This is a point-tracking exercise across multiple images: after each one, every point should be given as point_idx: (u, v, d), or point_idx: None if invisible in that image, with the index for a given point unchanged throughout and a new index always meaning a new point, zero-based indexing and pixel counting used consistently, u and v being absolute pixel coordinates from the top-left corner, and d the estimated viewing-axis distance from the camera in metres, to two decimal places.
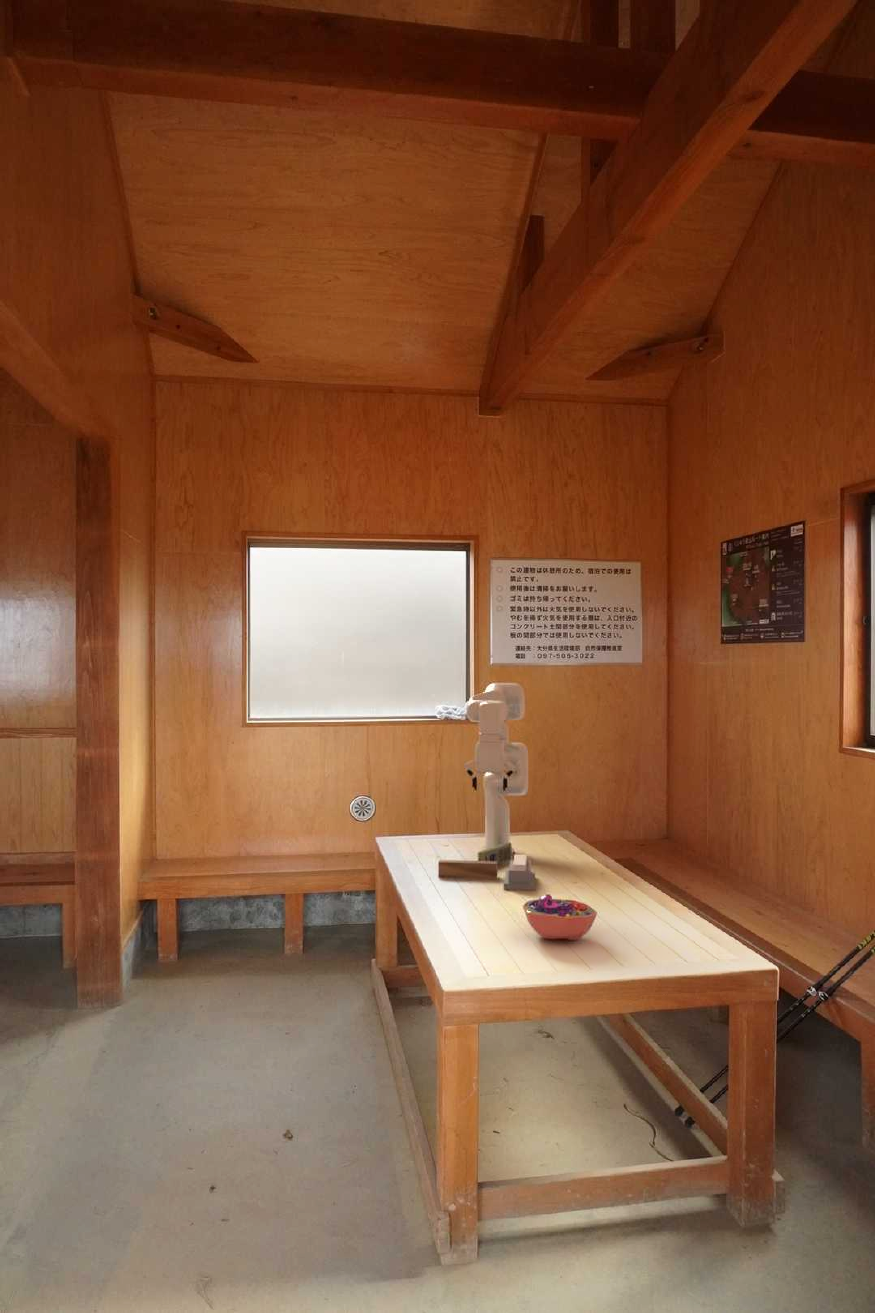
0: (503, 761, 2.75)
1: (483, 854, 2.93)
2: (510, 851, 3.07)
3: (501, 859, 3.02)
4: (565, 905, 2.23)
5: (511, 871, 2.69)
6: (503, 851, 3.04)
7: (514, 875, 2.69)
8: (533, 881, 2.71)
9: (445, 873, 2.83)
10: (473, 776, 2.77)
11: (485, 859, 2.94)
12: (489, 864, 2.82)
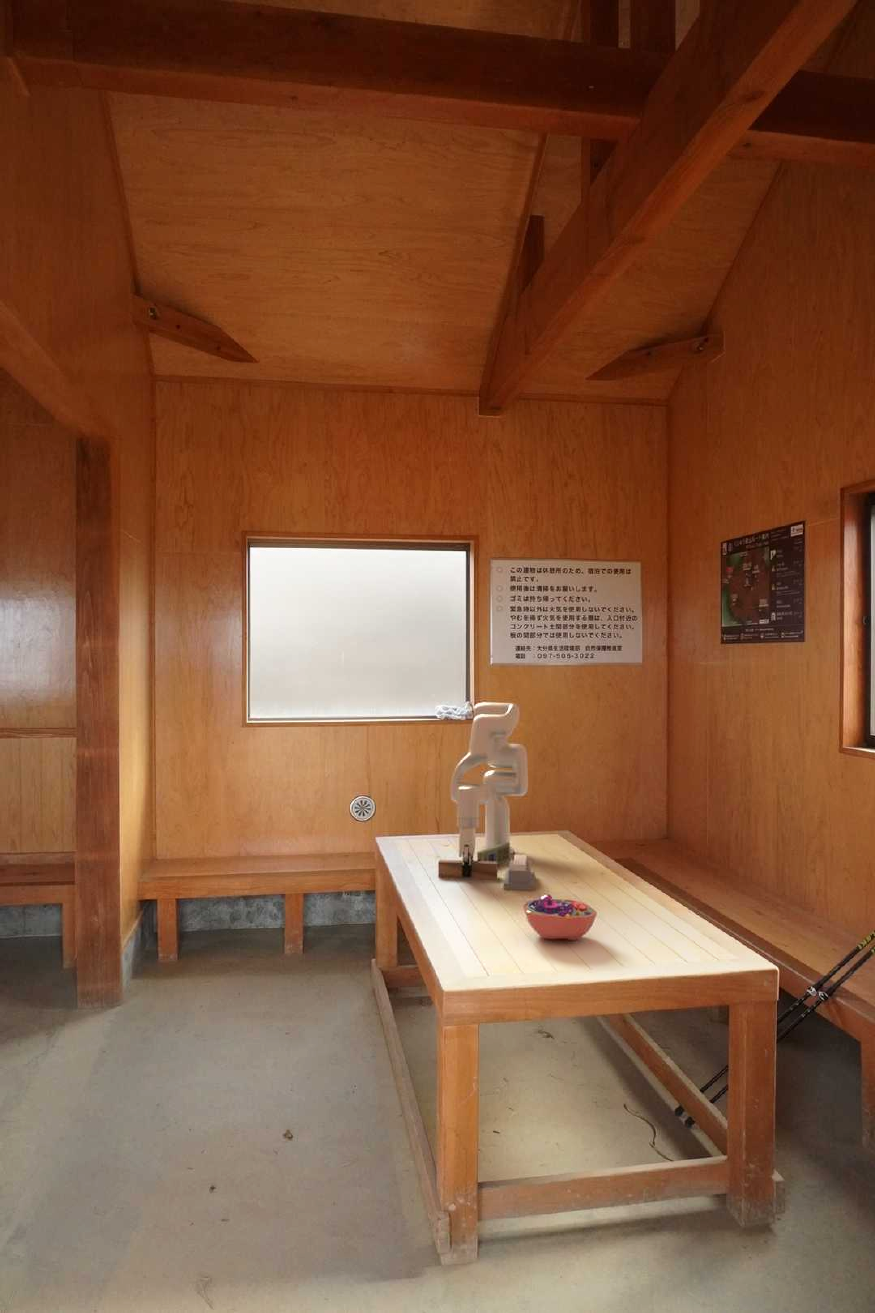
0: None
1: (482, 854, 2.94)
2: (508, 851, 3.08)
3: (500, 859, 3.03)
4: (565, 905, 2.23)
5: (511, 871, 2.69)
6: (502, 851, 3.04)
7: (514, 875, 2.69)
8: (533, 881, 2.71)
9: (445, 873, 2.83)
10: (470, 863, 2.79)
11: (484, 859, 2.94)
12: (489, 864, 2.82)
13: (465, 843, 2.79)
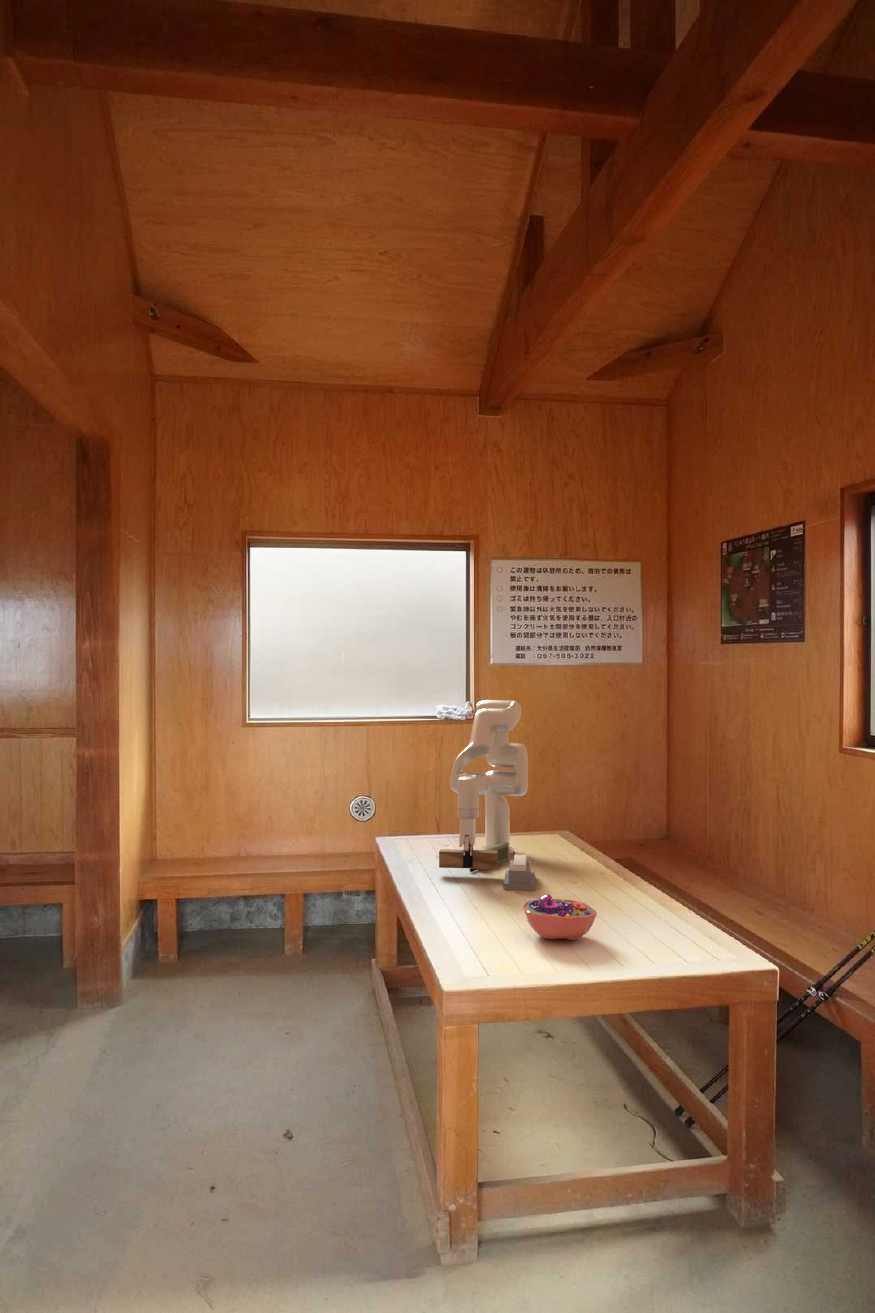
0: None
1: None
2: (507, 851, 3.08)
3: (499, 859, 3.03)
4: (565, 905, 2.23)
5: (511, 871, 2.69)
6: (501, 851, 3.04)
7: (514, 875, 2.69)
8: (533, 881, 2.71)
9: (446, 862, 2.84)
10: None
11: None
12: (489, 853, 2.82)
13: (465, 833, 2.80)
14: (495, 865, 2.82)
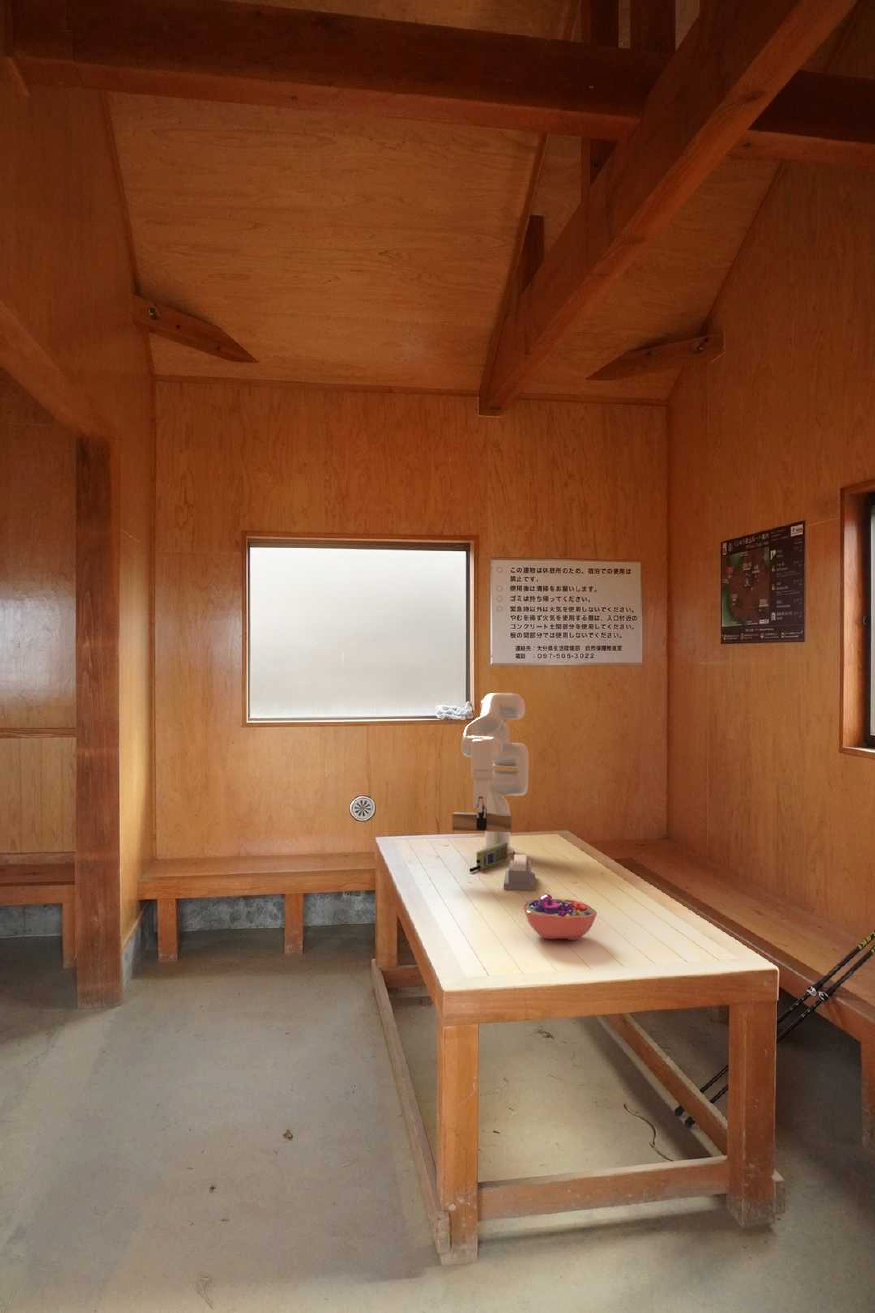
0: None
1: (482, 854, 2.94)
2: (506, 850, 3.08)
3: (498, 859, 3.03)
4: (565, 905, 2.23)
5: (511, 871, 2.69)
6: (500, 851, 3.04)
7: (514, 875, 2.69)
8: (533, 881, 2.71)
9: (459, 825, 2.81)
10: (484, 816, 2.79)
11: (483, 858, 2.94)
12: (503, 816, 2.79)
13: (479, 795, 2.77)
14: (509, 828, 2.79)
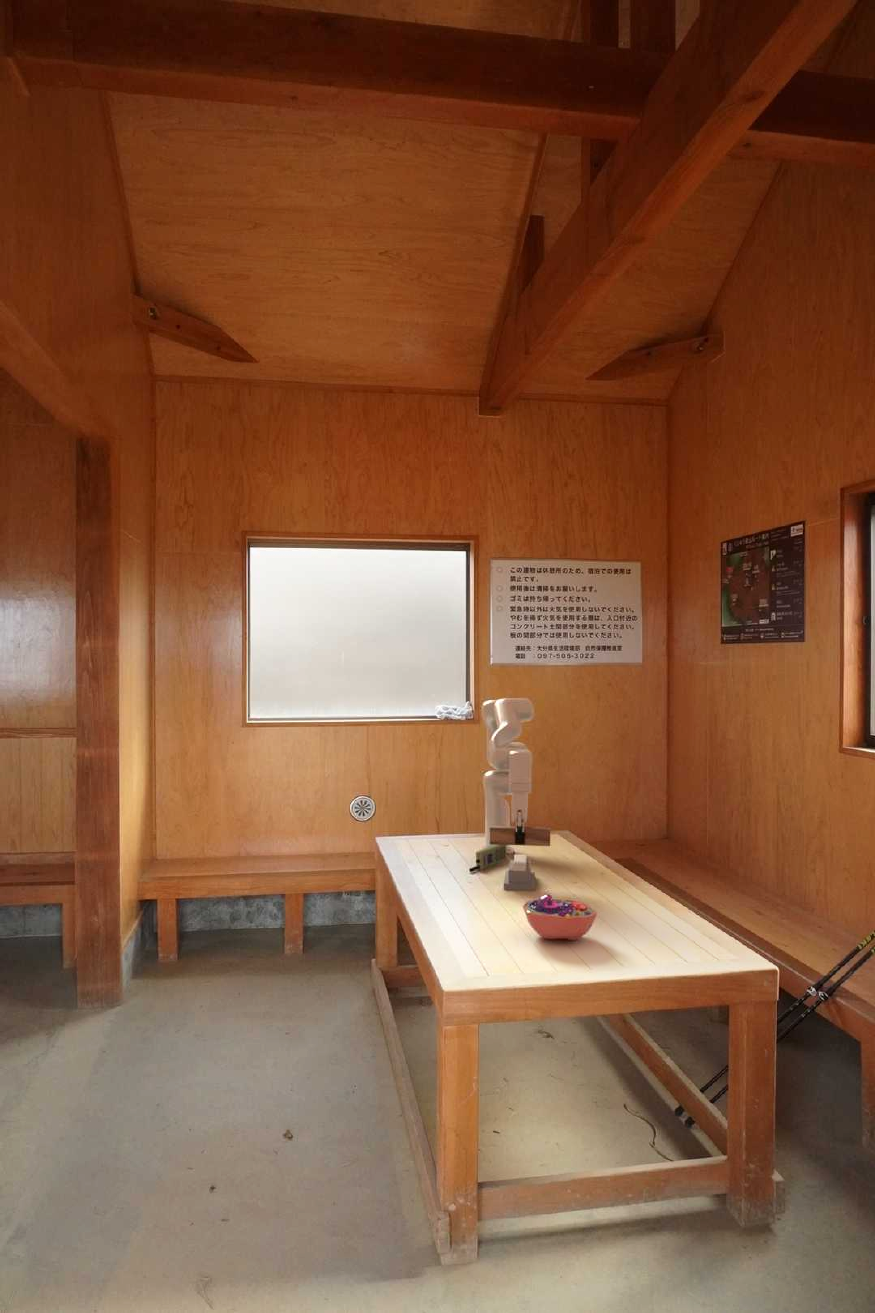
0: None
1: (481, 854, 2.94)
2: (505, 850, 3.09)
3: (497, 858, 3.03)
4: (565, 905, 2.23)
5: (511, 871, 2.69)
6: (499, 850, 3.04)
7: (514, 875, 2.69)
8: (533, 881, 2.71)
9: (497, 839, 2.75)
10: None
11: (483, 858, 2.94)
12: (542, 830, 2.73)
13: (518, 808, 2.71)
14: (548, 842, 2.73)
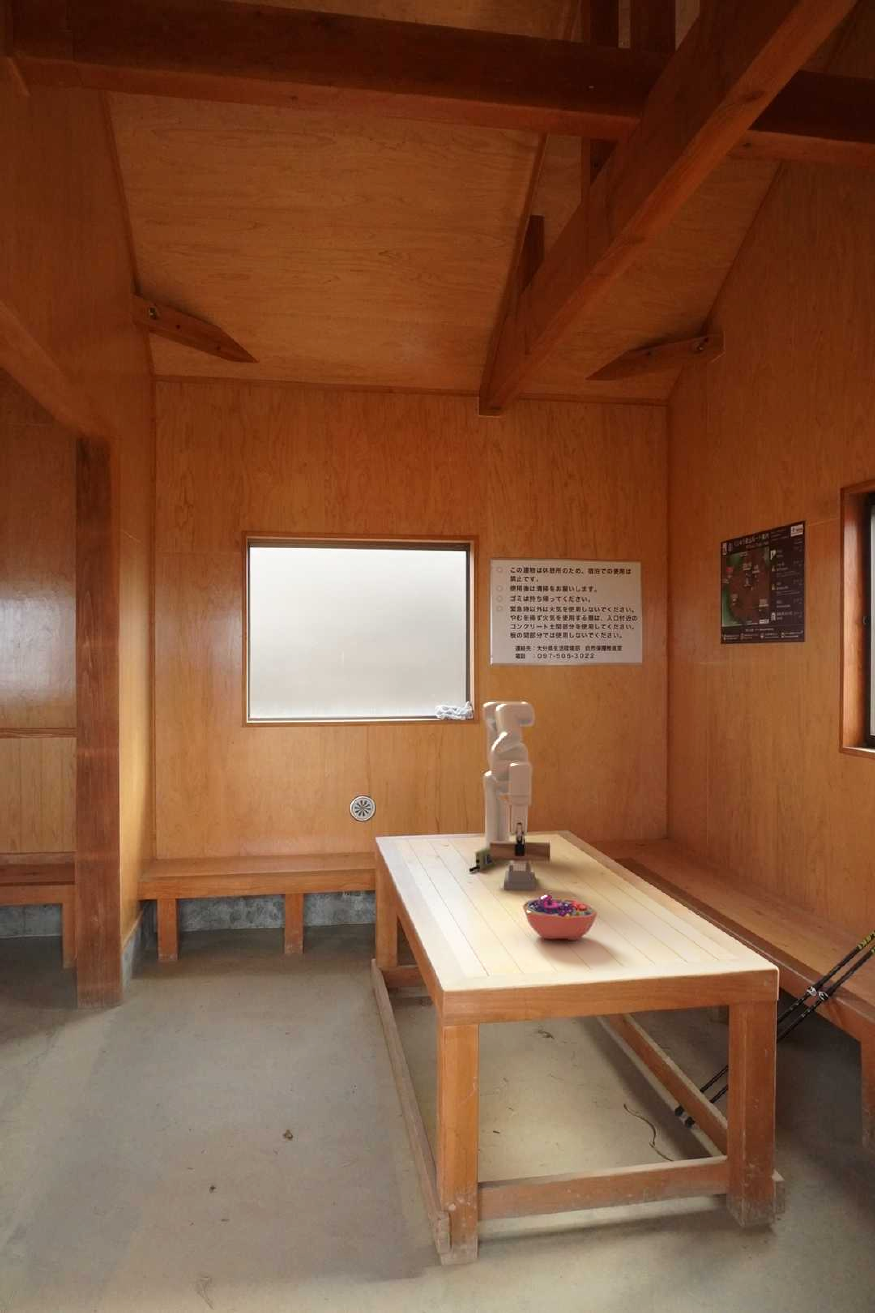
0: None
1: (481, 854, 2.94)
2: None
3: None
4: (565, 905, 2.23)
5: (511, 871, 2.69)
6: None
7: (514, 875, 2.69)
8: (533, 881, 2.71)
9: (497, 854, 2.75)
10: None
11: (483, 858, 2.94)
12: (542, 845, 2.73)
13: (518, 821, 2.71)
14: (548, 857, 2.73)
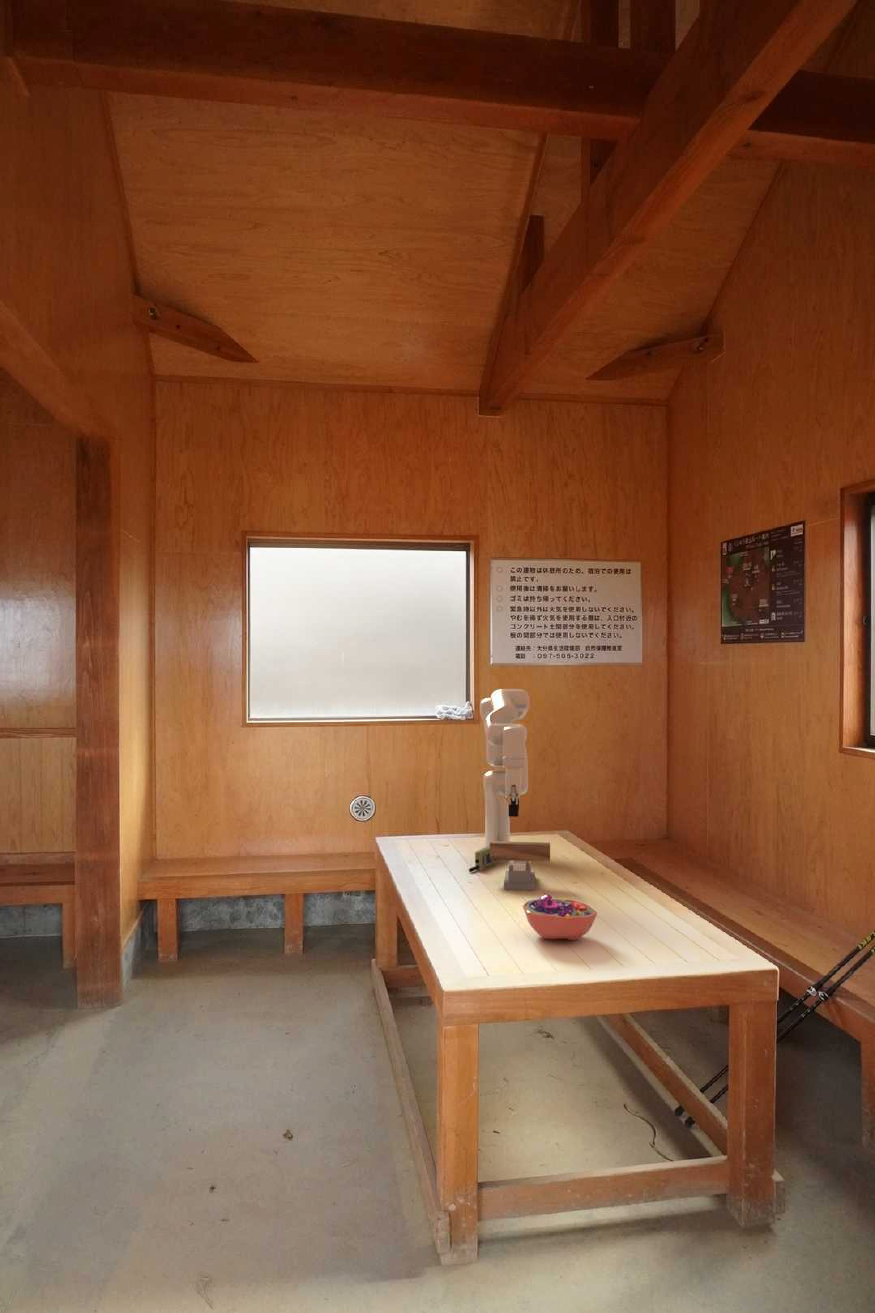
0: None
1: (480, 854, 2.94)
2: None
3: None
4: (565, 905, 2.23)
5: (511, 871, 2.69)
6: None
7: (514, 875, 2.69)
8: (533, 881, 2.71)
9: (497, 854, 2.75)
10: None
11: (482, 858, 2.94)
12: (542, 845, 2.73)
13: (512, 783, 2.74)
14: (548, 857, 2.73)
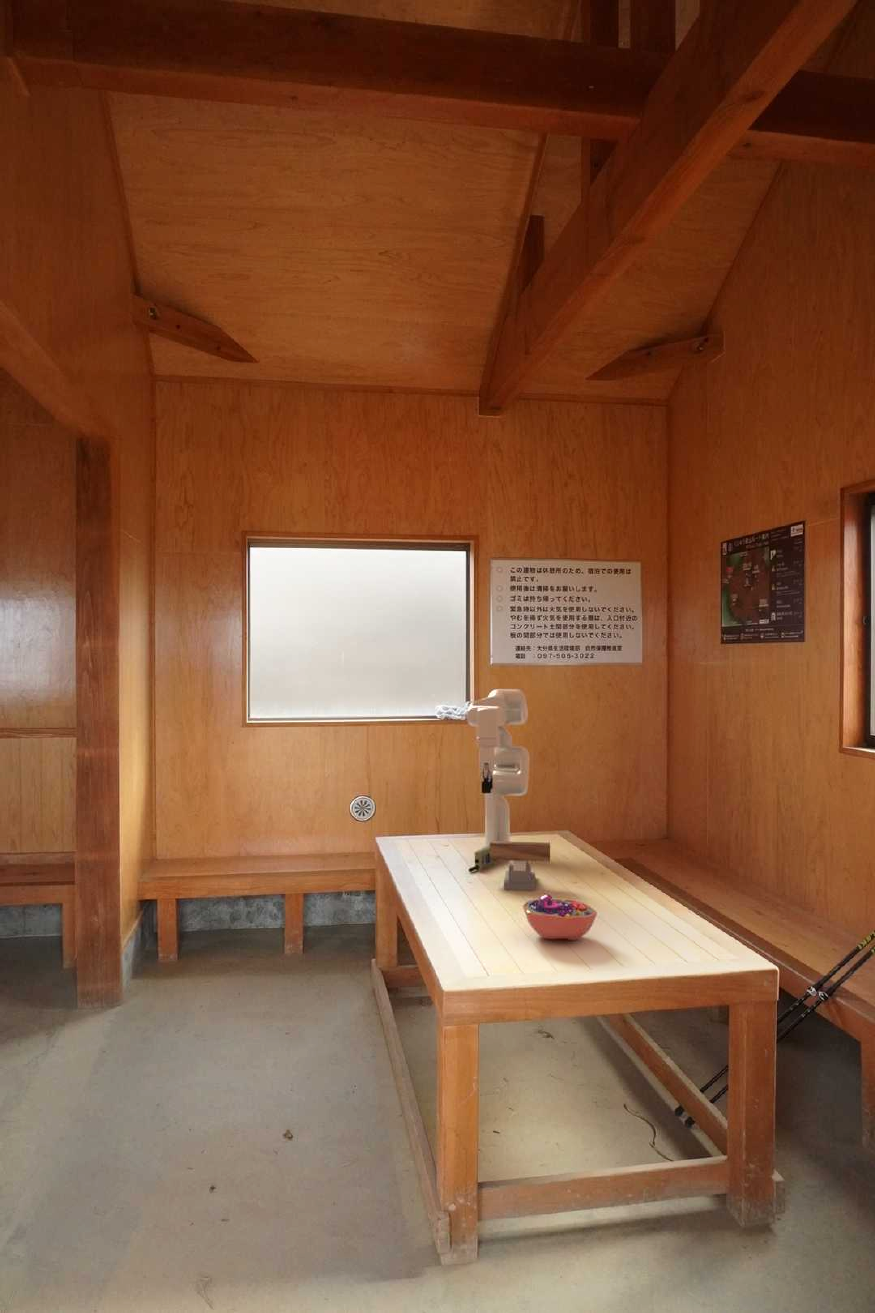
0: None
1: (480, 854, 2.94)
2: None
3: None
4: (565, 905, 2.23)
5: (511, 871, 2.69)
6: None
7: (514, 875, 2.69)
8: (533, 881, 2.71)
9: (497, 854, 2.75)
10: (489, 780, 2.87)
11: (482, 858, 2.94)
12: (542, 845, 2.73)
13: (485, 761, 2.88)
14: (548, 857, 2.73)
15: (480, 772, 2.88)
